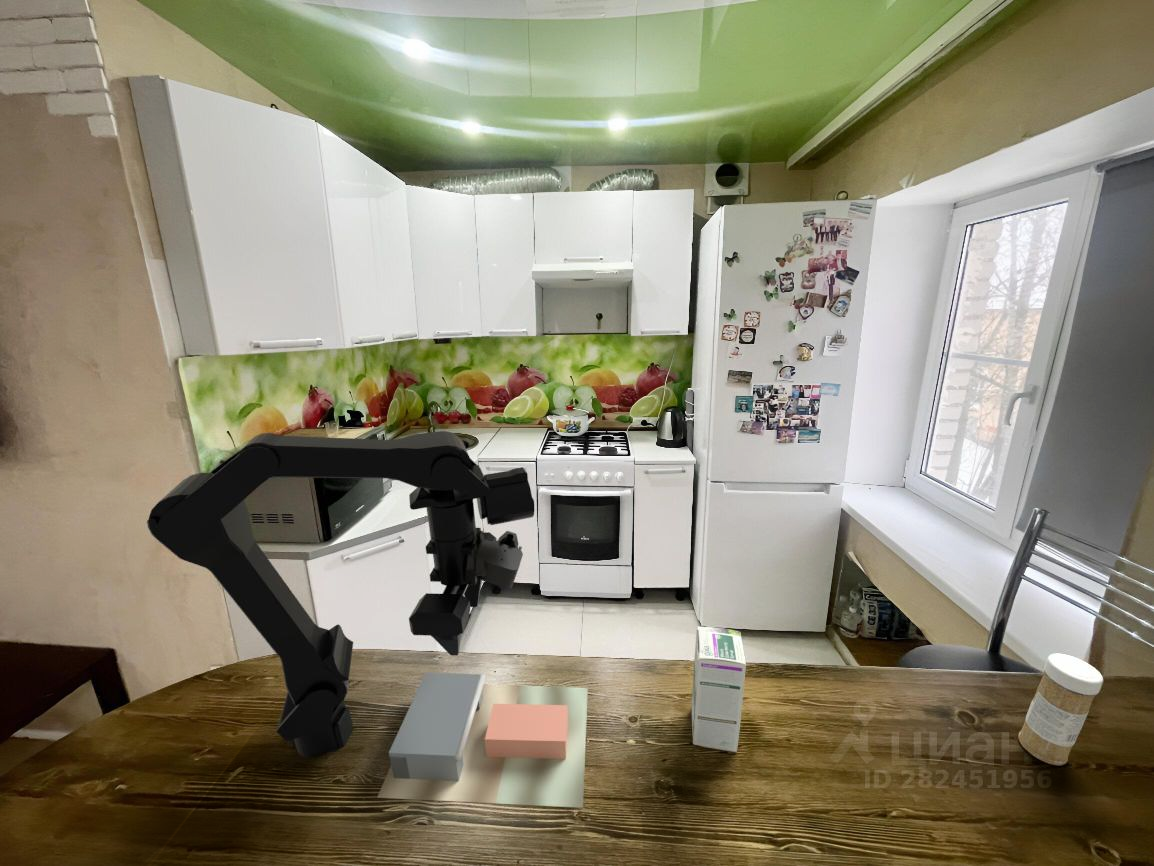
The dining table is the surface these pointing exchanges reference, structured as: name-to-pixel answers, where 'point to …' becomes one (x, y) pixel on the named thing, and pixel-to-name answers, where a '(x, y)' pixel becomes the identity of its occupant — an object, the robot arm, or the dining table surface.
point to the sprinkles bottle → (1059, 708)
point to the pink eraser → (527, 731)
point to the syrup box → (717, 688)
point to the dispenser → (437, 727)
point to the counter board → (510, 759)
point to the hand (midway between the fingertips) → (464, 628)
